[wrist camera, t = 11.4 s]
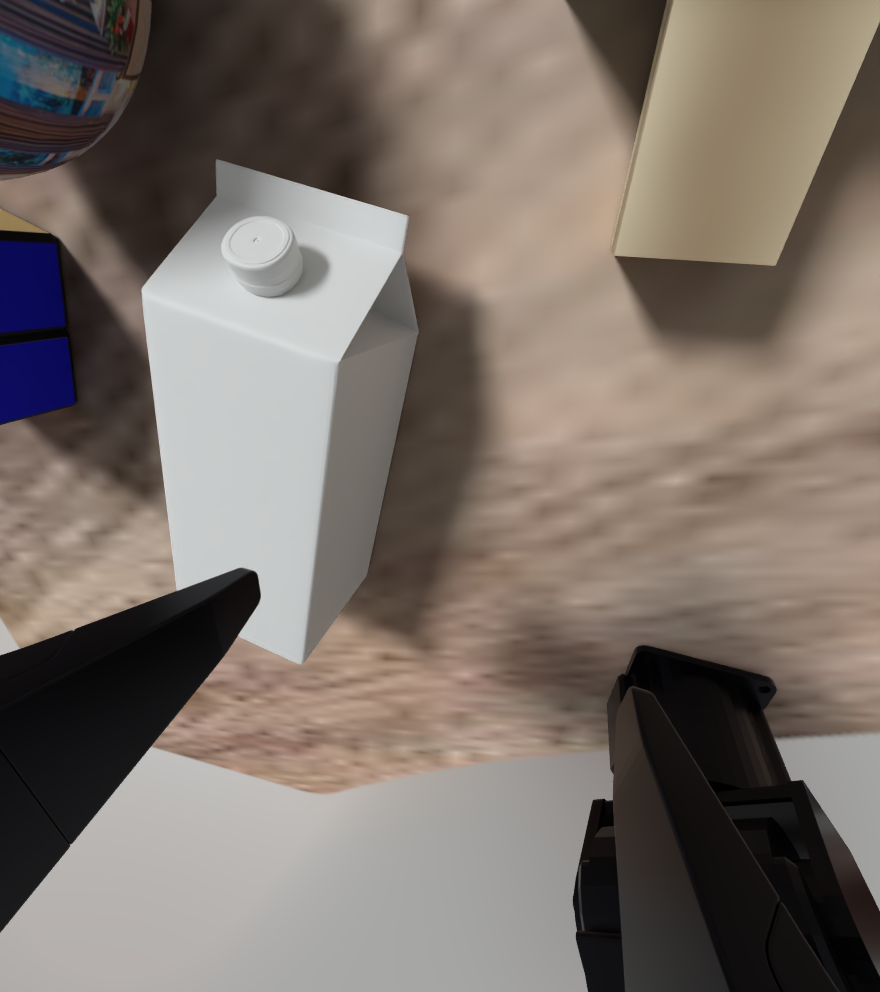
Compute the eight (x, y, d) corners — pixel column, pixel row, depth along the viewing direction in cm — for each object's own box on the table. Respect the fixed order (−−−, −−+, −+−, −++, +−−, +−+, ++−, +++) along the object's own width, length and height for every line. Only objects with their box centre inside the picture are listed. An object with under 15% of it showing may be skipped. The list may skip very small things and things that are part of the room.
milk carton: (267, 535, 27) (281, 178, 17) (367, 577, 26) (442, 226, 16) (177, 610, 21) (117, 129, 11) (302, 668, 20) (357, 199, 10)
